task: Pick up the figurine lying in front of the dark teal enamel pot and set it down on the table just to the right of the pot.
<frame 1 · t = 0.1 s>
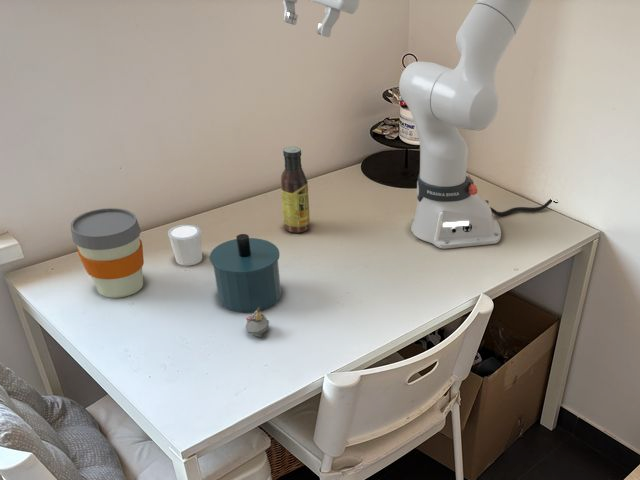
hand: (305, 29, 123), 52 cm above the table, tool tilted 20°, fingers open, 8 cm apart
pot: (250, 295, 149), on the table
pot lid: (245, 256, 143), point 9 cm above the table, touching pot
sauce bottle: (297, 228, 174), on the table
figurine: (258, 332, 139), on the table
reusable coffee cup: (120, 286, 149), on the table
white cylinder: (189, 259, 159), on the table
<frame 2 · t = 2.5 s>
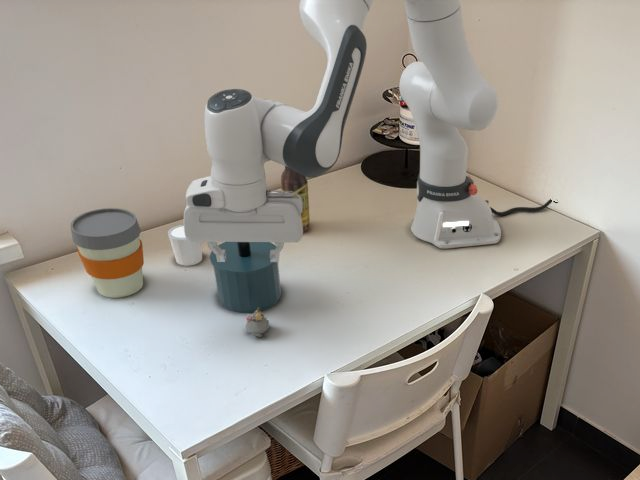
hand: (248, 260, 129), 16 cm above the table, tool pointing down, fingers open, 8 cm apart
nothing on the table moved.
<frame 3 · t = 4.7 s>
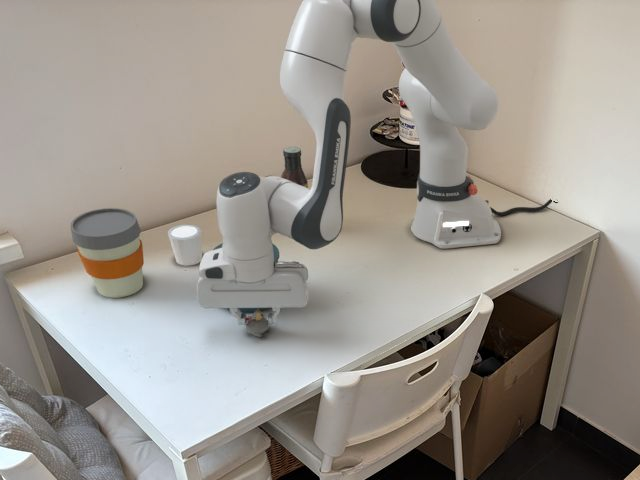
hand: (257, 323, 138), 2 cm above the table, tool pointing down, fingers closed on figurine, 4 cm apart
figurine: (258, 332, 139), on the table, touching gripper
everything else where it was.
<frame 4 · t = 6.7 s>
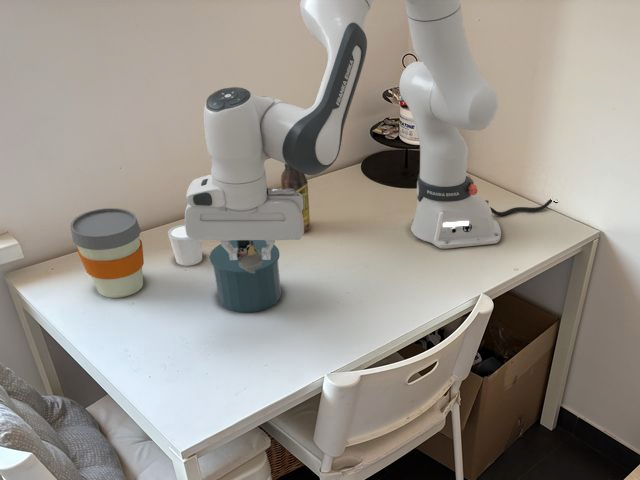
hand: (250, 258, 129), 17 cm above the table, tool pointing down, fingers closed on figurine, 4 cm apart
figurine: (251, 269, 131), point 14 cm above the table, touching gripper
everything else where it was.
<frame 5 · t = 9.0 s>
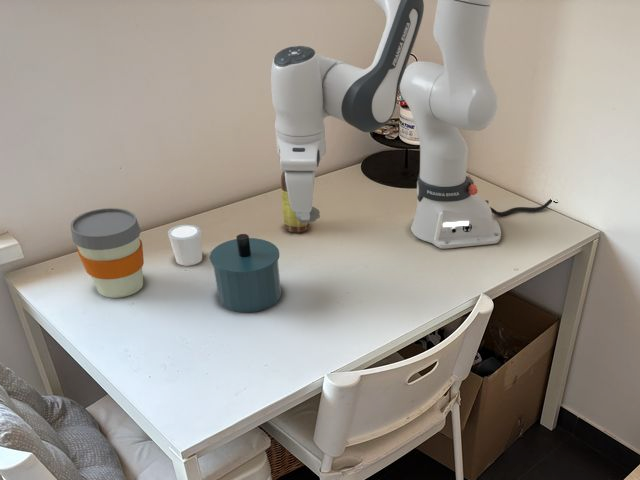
hand: (306, 211, 138), 20 cm above the table, tool pointing down, fingers closed on figurine, 4 cm apart
figurine: (307, 222, 139), point 18 cm above the table, touching gripper
everything else where it was.
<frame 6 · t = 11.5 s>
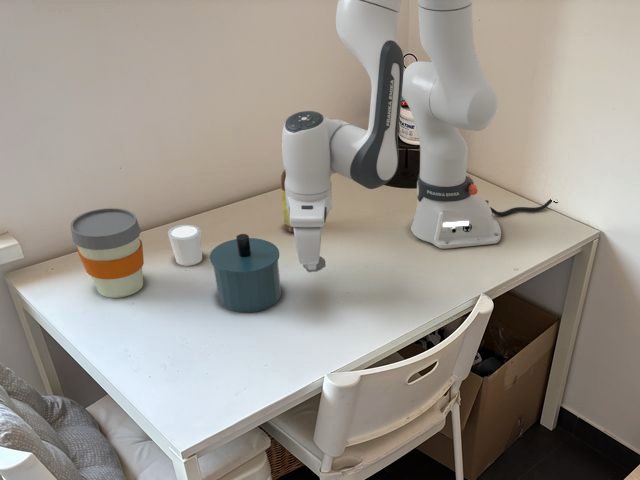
hand: (312, 260, 146), 8 cm above the table, tool pointing down, fingers closed on figurine, 4 cm apart
figurine: (313, 270, 147), point 6 cm above the table, touching gripper
everything else where it was.
when the fingers open (2 cm above the table, at t = 13.5 s): figurine stays where it is, on the table.
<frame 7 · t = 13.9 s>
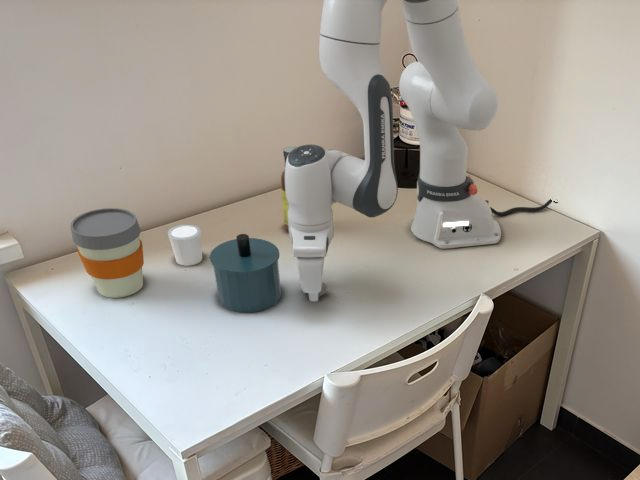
hand: (315, 287, 150), 2 cm above the table, tool pointing down, fingers open, 8 cm apart
figurine: (315, 295, 151), on the table
everything else where it was.
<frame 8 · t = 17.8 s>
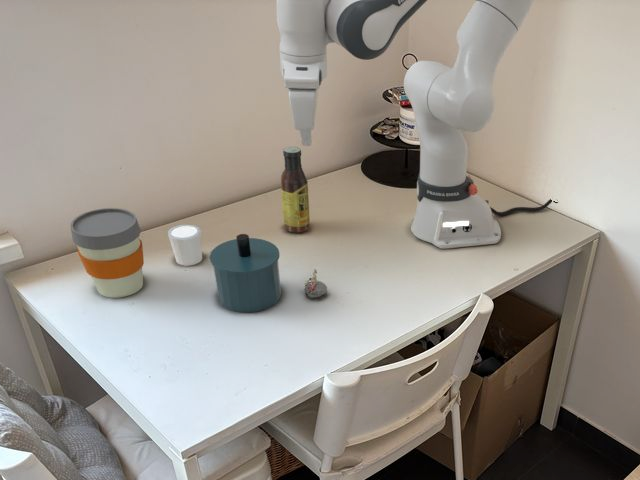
hand: (308, 135, 145), 29 cm above the table, tool pointing down, fingers open, 8 cm apart
nothing on the table moved.
at the end: figurine inside the target area on the table beside the pot (0.0 cm from its centre), on the table; the gripper is holding nothing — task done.
